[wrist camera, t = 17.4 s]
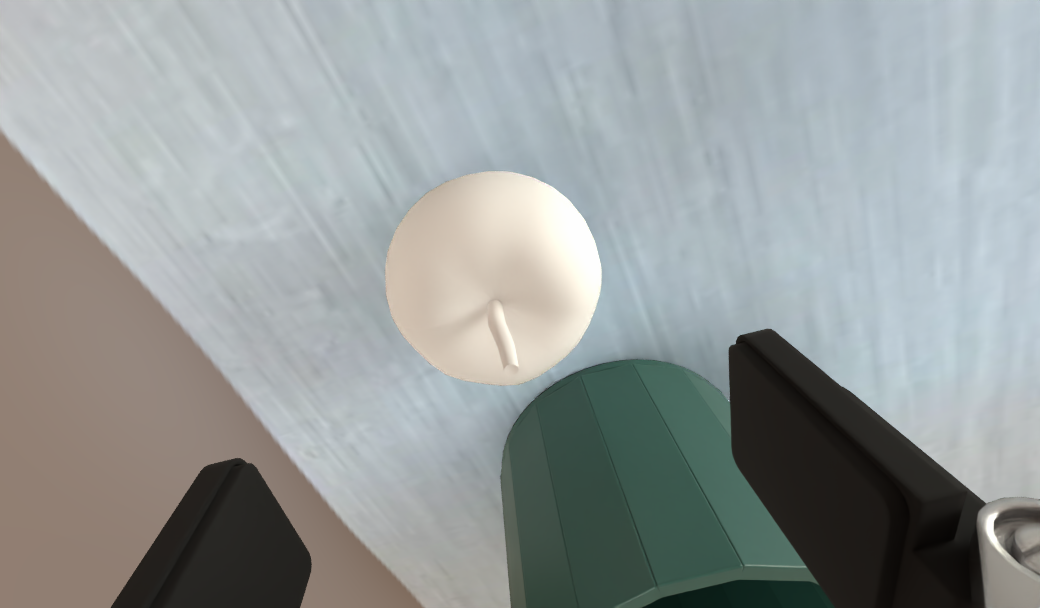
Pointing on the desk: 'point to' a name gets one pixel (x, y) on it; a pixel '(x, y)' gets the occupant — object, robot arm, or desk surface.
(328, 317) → the desk surface
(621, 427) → the pot
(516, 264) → the plain white apple
